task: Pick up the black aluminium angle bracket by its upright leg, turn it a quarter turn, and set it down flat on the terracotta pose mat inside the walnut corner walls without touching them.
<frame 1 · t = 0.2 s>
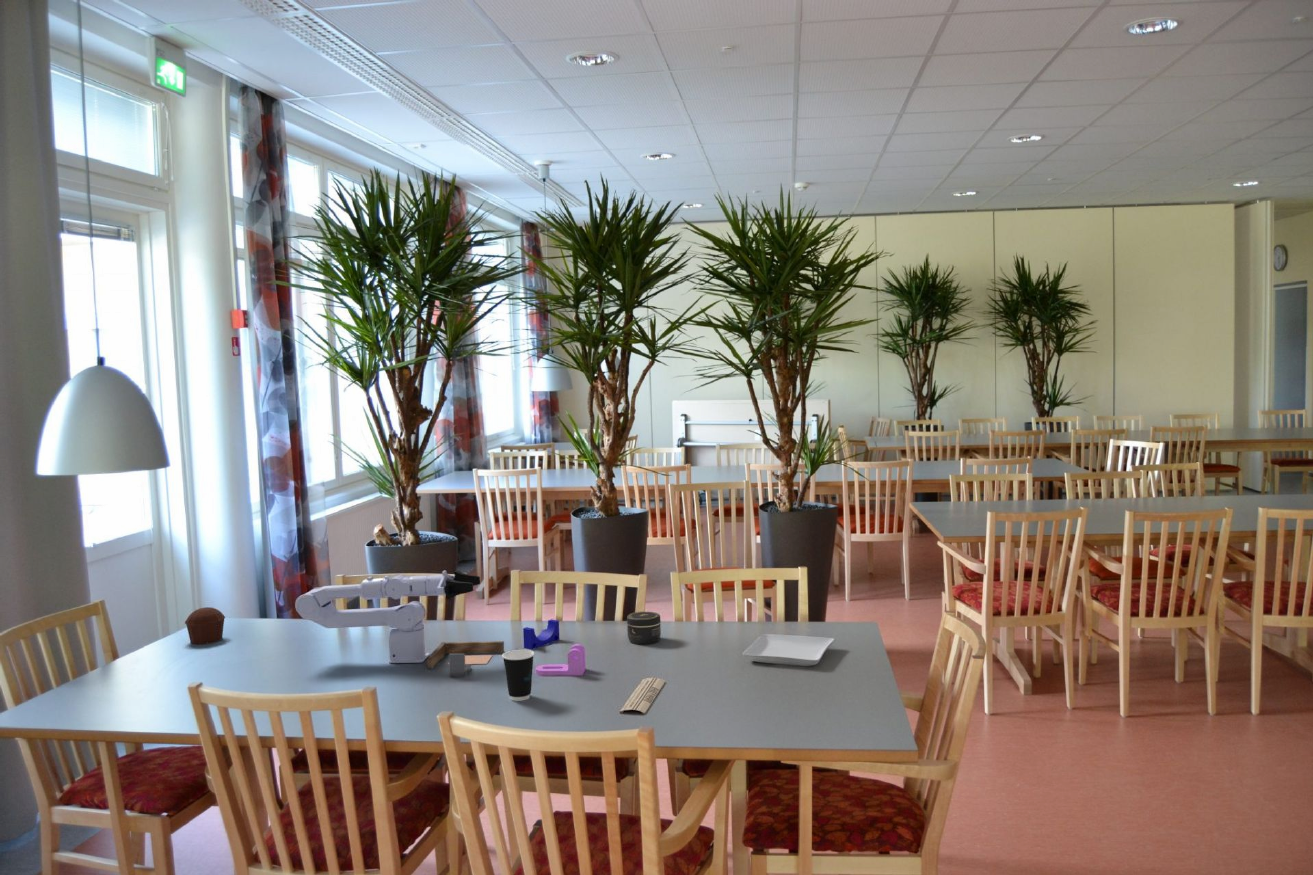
hand: (476, 583, 273), 21 cm above the table, tool horizontal, fingers open, 7 cm apart
muffin: (206, 641, 304), on the table
blue cradle block: (540, 644, 289), on the table
angle bracket: (457, 676, 260), on the table
corner walls: (470, 660, 274), on the table
bracket: (559, 673, 260), on the table
dixie cup: (520, 698, 241), on the table
pose mat: (470, 660, 274), on the table
jar: (644, 641, 288), on the table
newspaper: (645, 700, 238), on the table
salad plate: (789, 657, 269), on the table
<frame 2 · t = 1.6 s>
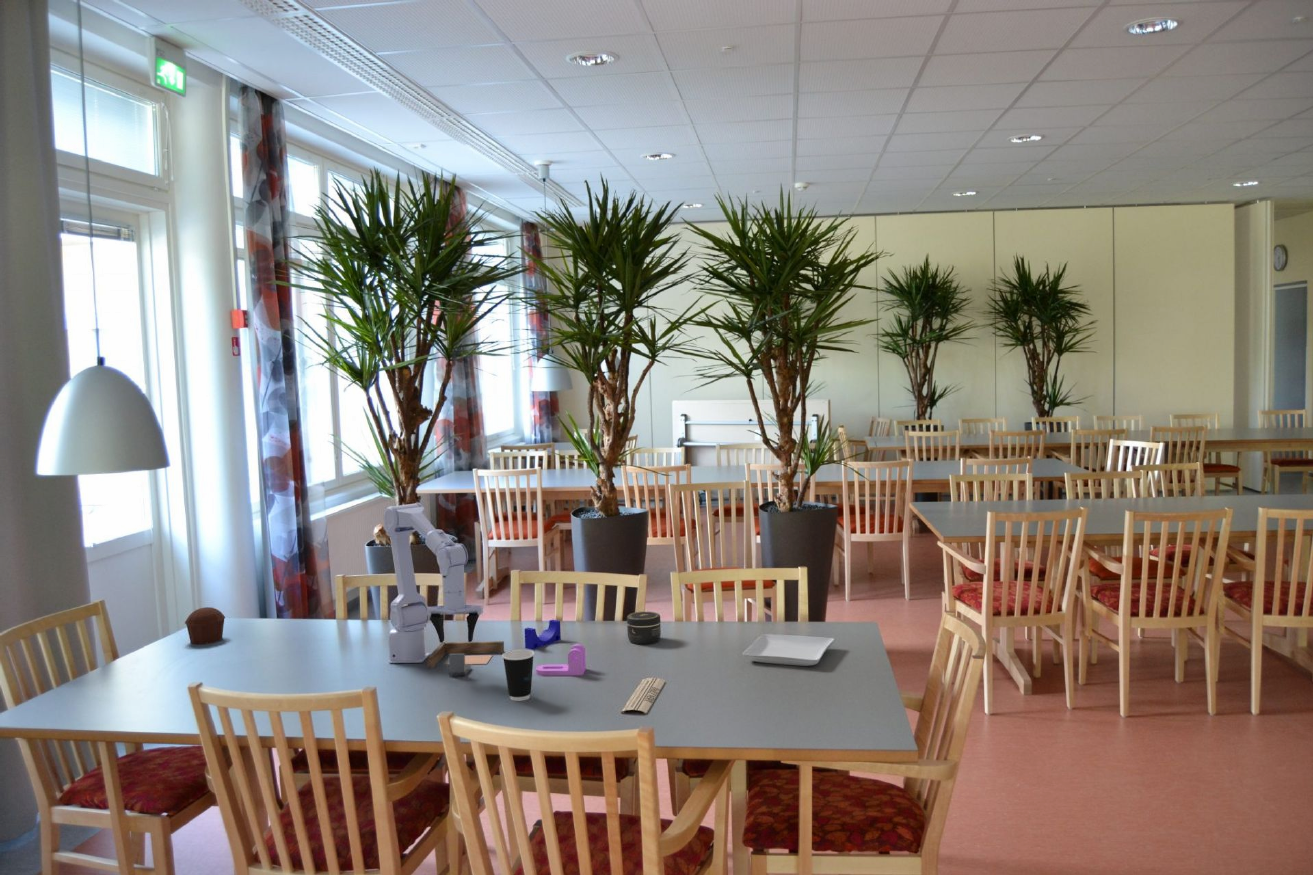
hand: (456, 641, 259), 9 cm above the table, tool pointing down, fingers open, 7 cm apart
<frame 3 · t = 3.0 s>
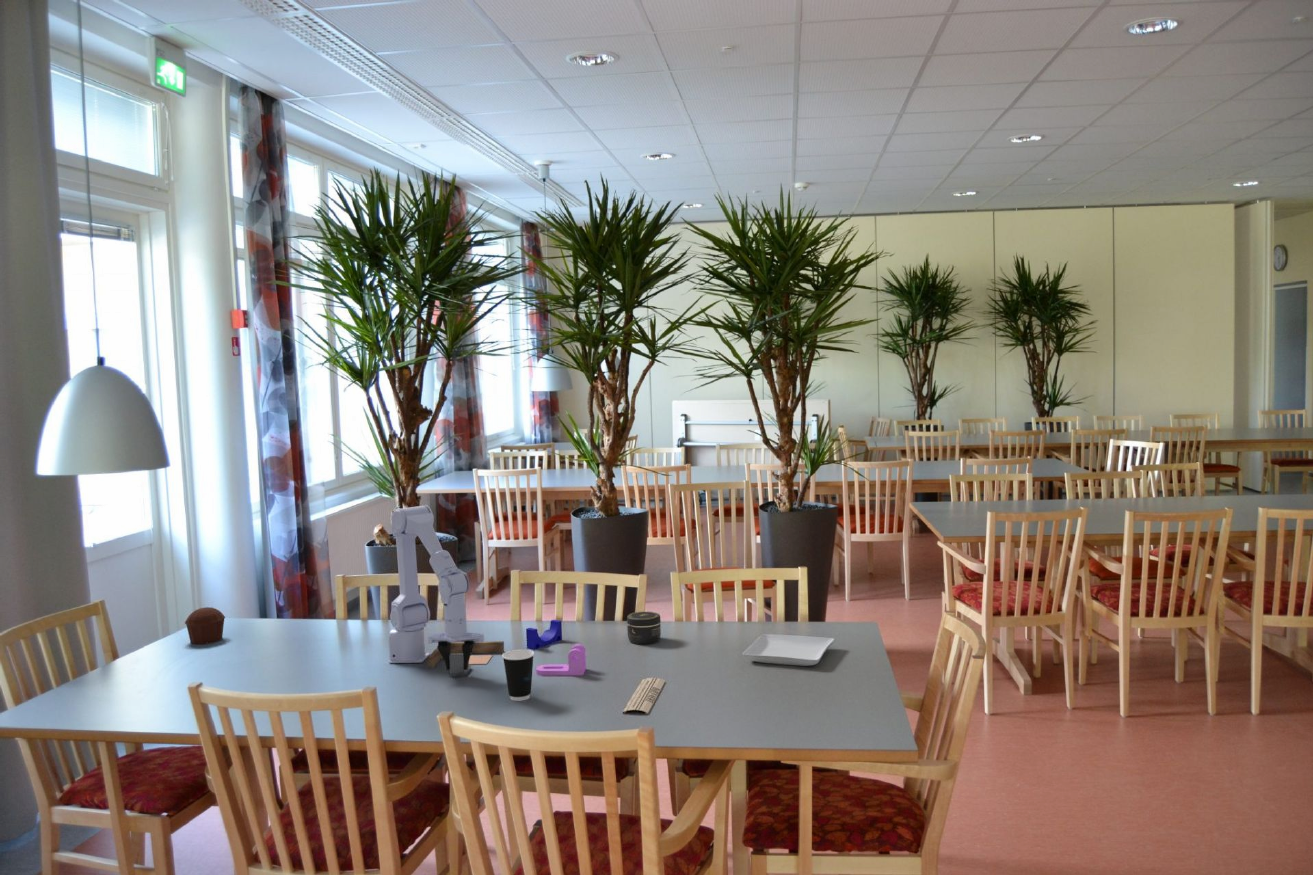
hand: (457, 668, 260), 2 cm above the table, tool pointing down, fingers closed on angle bracket, 4 cm apart
angle bracket: (457, 675, 260), on the table, touching gripper
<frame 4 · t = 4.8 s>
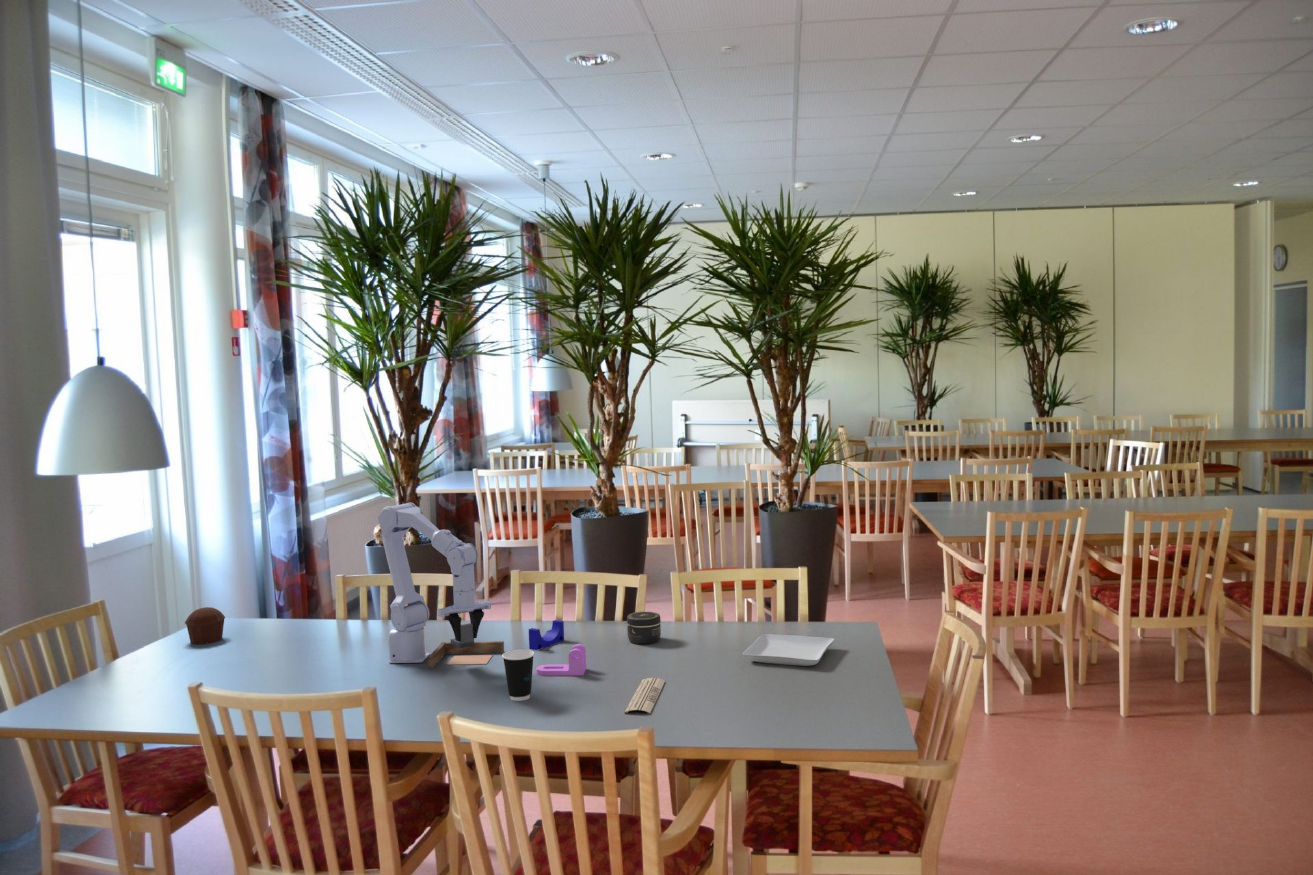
hand: (466, 638, 265), 8 cm above the table, tool pointing down, fingers closed on angle bracket, 4 cm apart
angle bracket: (466, 646, 265), point 6 cm above the table, touching gripper
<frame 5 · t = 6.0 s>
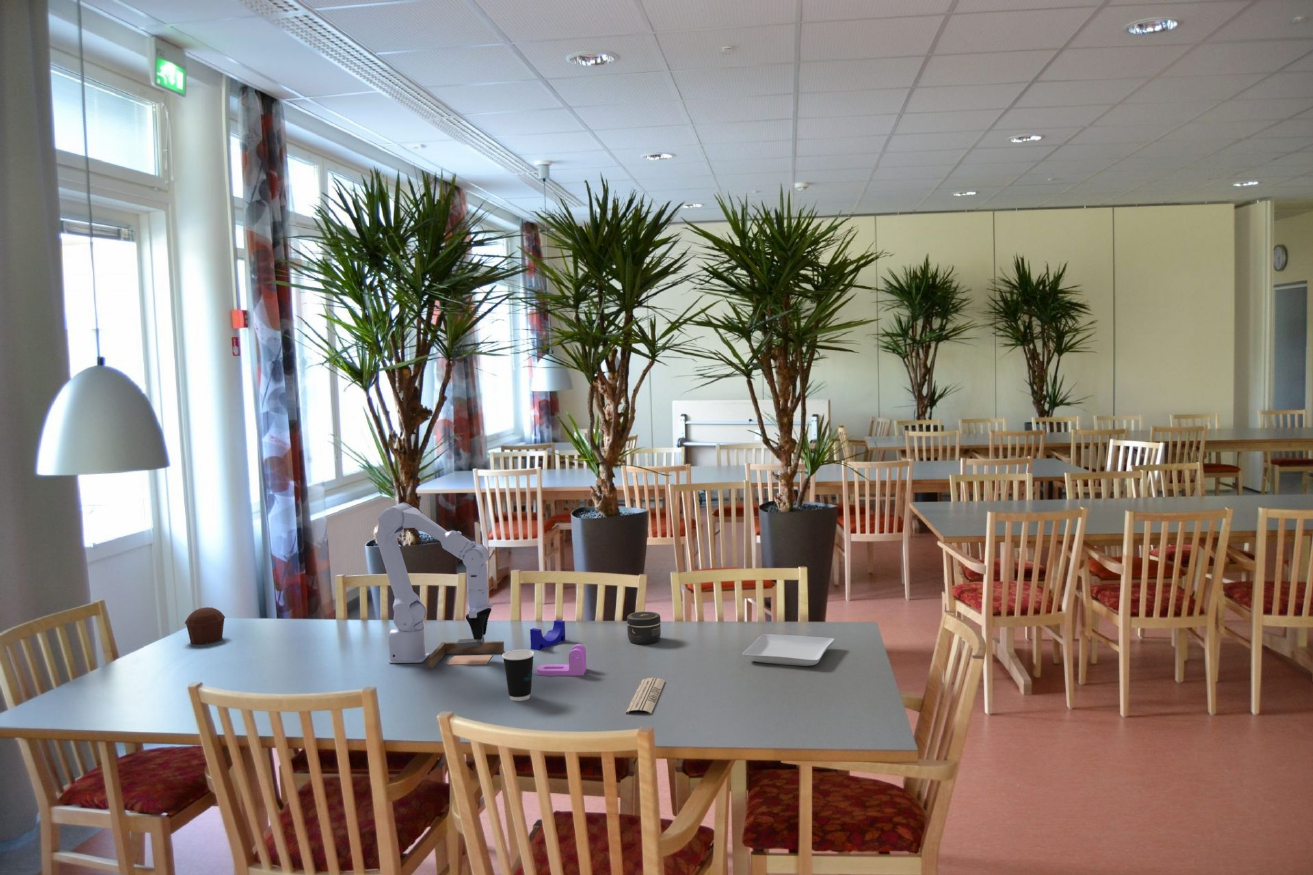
hand: (479, 636, 273), 7 cm above the table, tool pointing down, fingers closed on angle bracket, 4 cm apart
angle bracket: (480, 644, 273), point 5 cm above the table, touching gripper
when the fingers open (3 cm above the table, at t = 6.9 s): angle bracket drops 1 cm, resting on pose mat.
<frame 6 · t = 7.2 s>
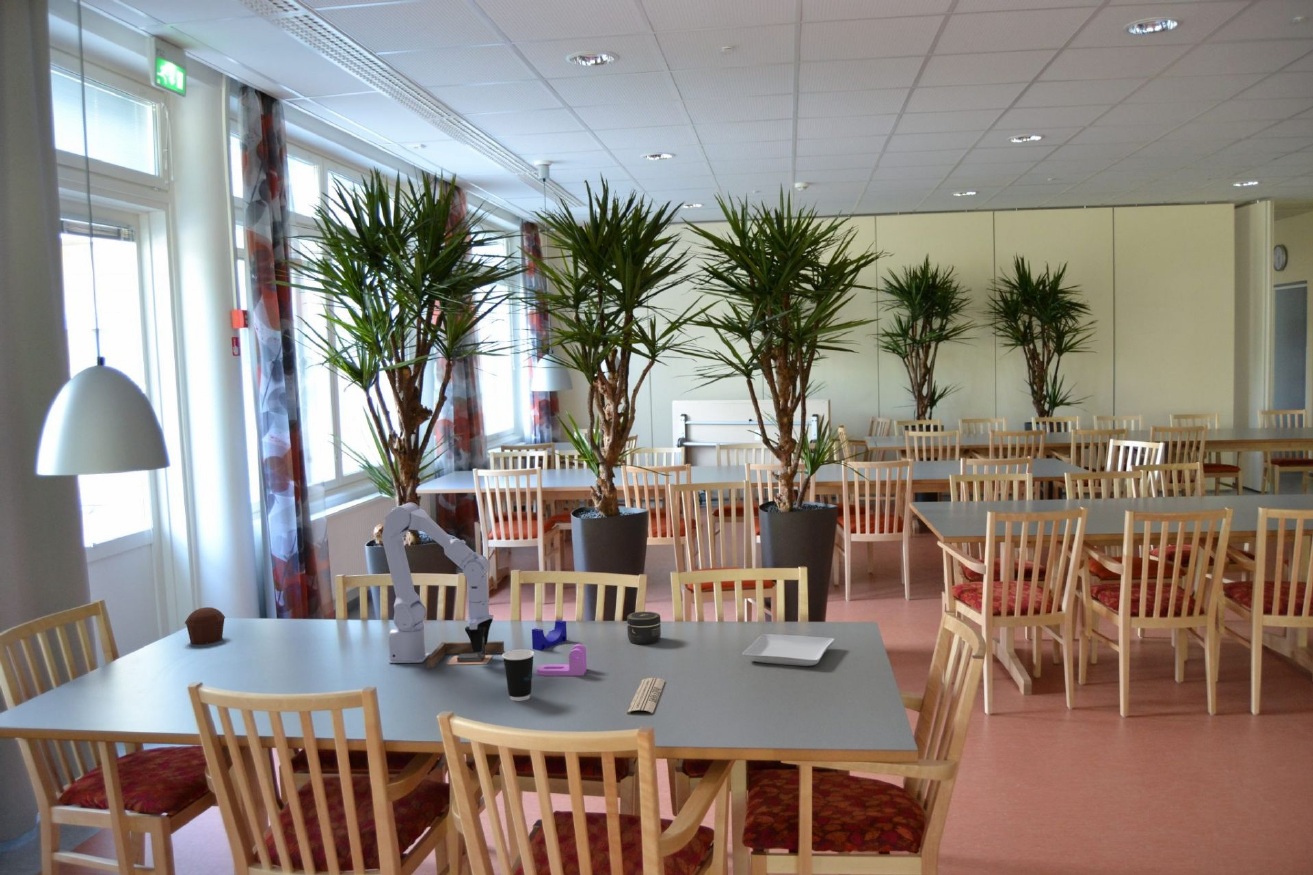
hand: (480, 648, 273), 3 cm above the table, tool pointing down, fingers open, 6 cm apart
angle bracket: (481, 659, 273), resting on pose mat
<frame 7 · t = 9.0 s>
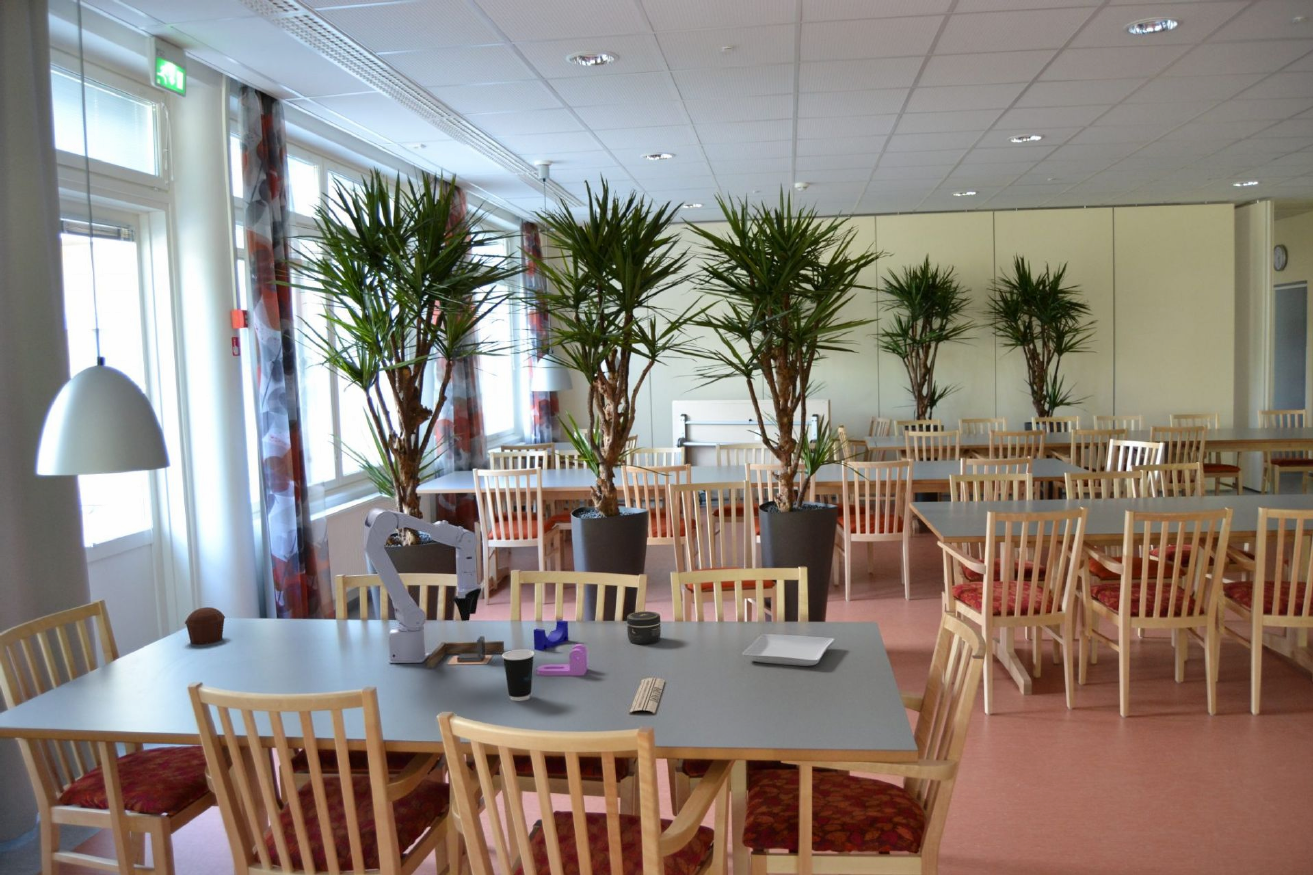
hand: (468, 616, 285), 9 cm above the table, tool pointing down, fingers open, 7 cm apart
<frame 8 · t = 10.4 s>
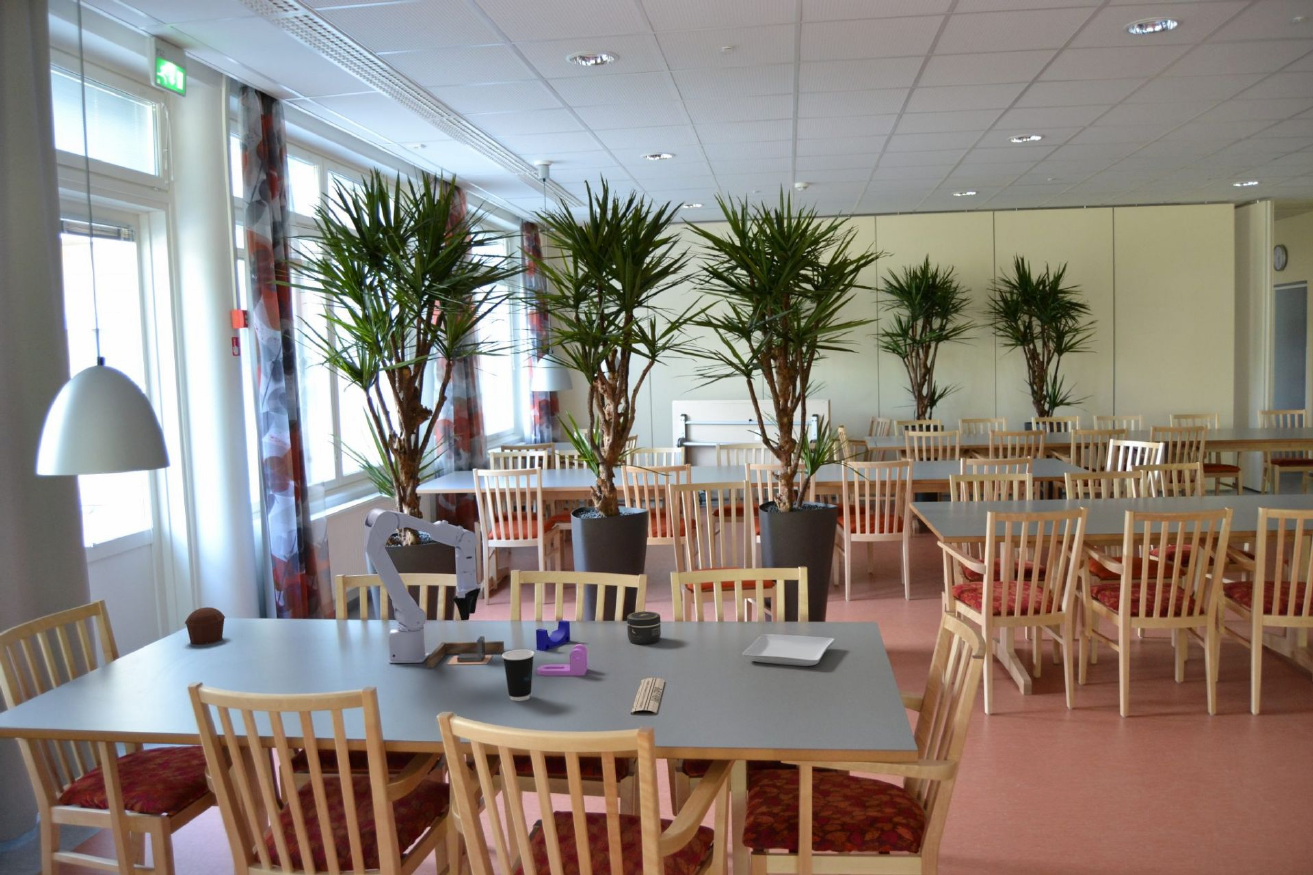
hand: (468, 616, 285), 9 cm above the table, tool pointing down, fingers open, 7 cm apart
at the end: angle bracket 0.3 cm from the target spot on the pose mat, point 0.2 cm above the pose mat's base; angle bracket tilted 0°; angle bracket touching pose mat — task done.
